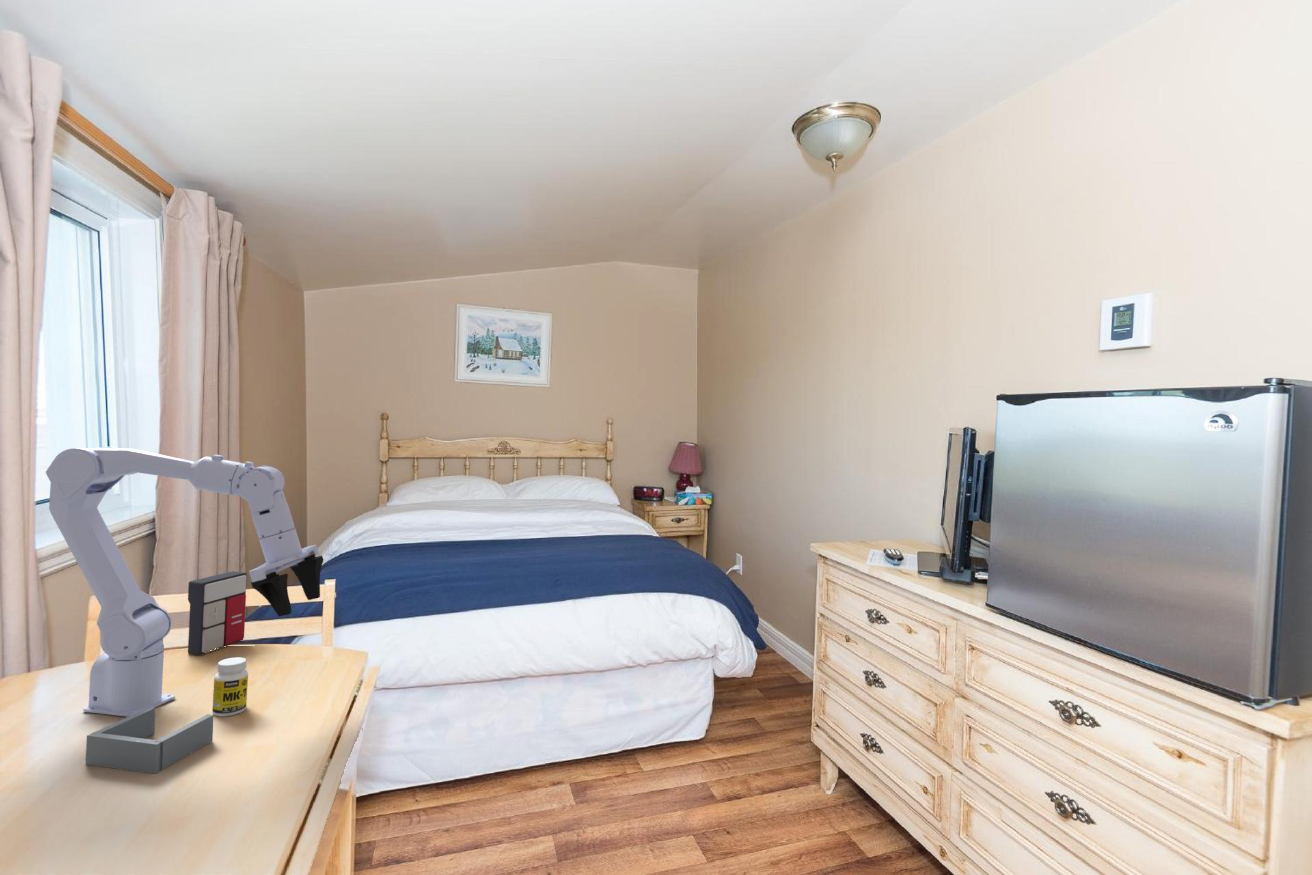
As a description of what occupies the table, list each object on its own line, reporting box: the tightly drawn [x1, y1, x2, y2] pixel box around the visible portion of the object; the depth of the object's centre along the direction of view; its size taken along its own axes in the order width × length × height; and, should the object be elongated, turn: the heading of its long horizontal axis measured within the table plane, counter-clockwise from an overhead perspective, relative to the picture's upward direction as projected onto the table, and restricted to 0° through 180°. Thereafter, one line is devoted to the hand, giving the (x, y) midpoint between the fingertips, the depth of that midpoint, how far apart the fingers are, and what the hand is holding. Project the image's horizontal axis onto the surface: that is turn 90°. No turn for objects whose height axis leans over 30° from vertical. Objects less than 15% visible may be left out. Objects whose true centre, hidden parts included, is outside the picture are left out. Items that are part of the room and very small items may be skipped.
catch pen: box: [85, 707, 215, 775], centre depth 93 cm, size 11×10×4 cm
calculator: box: [187, 570, 247, 656], centre depth 136 cm, size 11×4×15 cm, turn 168°
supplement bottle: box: [211, 656, 249, 717], centre depth 107 cm, size 5×5×8 cm
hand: (300, 606), depth 113 cm, fingers open, 7 cm apart
